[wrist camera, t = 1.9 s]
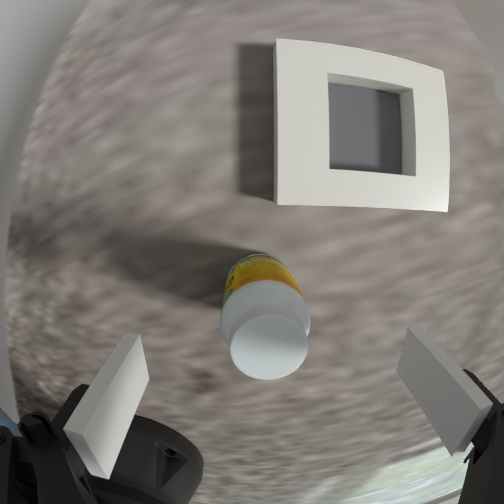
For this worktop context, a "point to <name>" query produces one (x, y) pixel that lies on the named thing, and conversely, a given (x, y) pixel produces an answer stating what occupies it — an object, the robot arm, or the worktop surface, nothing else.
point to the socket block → (358, 129)
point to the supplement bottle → (264, 318)
